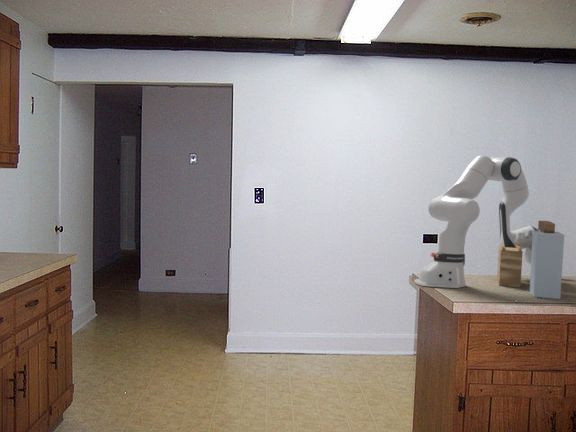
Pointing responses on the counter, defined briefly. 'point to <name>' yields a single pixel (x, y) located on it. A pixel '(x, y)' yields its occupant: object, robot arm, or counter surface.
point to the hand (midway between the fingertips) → (541, 232)
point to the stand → (546, 264)
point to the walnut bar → (546, 227)
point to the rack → (509, 266)
